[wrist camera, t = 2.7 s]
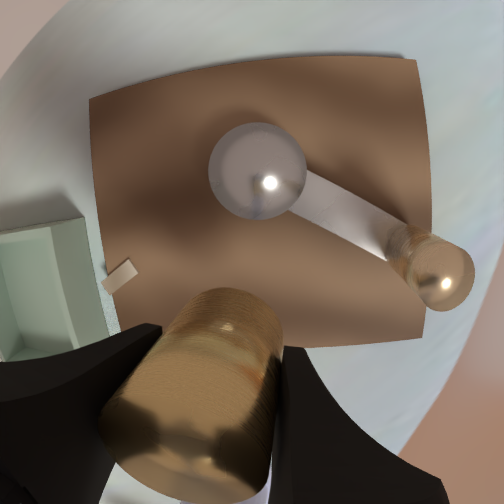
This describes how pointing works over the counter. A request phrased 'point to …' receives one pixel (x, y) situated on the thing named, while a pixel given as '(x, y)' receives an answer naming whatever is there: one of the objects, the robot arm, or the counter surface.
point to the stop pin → (202, 402)
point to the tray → (48, 291)
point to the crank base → (273, 229)
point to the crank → (332, 211)
